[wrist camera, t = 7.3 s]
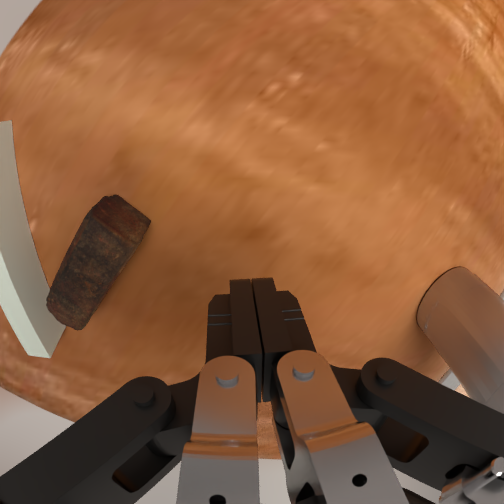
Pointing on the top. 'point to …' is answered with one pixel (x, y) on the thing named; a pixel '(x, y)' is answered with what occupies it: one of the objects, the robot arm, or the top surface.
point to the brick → (95, 260)
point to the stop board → (22, 263)
